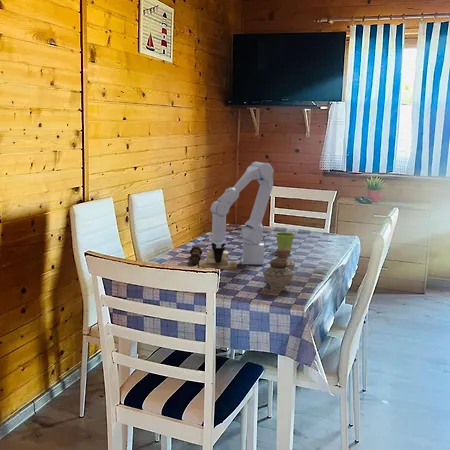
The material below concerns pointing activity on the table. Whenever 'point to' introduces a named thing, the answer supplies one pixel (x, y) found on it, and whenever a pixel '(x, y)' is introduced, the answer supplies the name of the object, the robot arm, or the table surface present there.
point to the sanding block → (212, 258)
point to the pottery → (279, 270)
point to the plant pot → (285, 240)
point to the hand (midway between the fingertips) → (217, 261)
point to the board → (230, 265)
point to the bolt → (195, 254)
